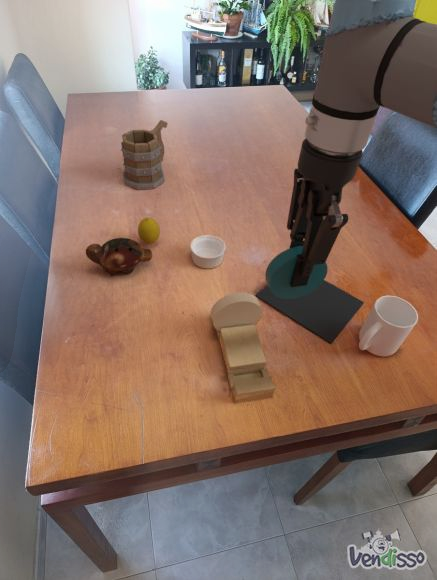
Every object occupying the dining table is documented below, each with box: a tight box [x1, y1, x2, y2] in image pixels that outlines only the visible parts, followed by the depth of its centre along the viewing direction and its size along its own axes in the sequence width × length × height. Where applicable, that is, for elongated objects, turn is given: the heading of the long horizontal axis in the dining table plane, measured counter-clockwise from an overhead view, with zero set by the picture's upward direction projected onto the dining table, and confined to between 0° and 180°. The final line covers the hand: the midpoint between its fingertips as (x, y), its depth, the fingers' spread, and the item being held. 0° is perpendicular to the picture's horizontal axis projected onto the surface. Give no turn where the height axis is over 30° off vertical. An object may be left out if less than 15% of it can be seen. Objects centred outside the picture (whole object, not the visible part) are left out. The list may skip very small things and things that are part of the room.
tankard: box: [120, 119, 168, 191], centre depth 117 cm, size 20×13×15 cm, turn 148°
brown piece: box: [85, 237, 153, 277], centre depth 89 cm, size 10×15×8 cm, turn 111°
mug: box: [358, 295, 419, 357], centre depth 76 cm, size 12×8×10 cm
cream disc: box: [210, 292, 263, 331], centre depth 74 cm, size 2×10×10 cm, turn 101°
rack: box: [215, 324, 276, 405], centre depth 74 cm, size 20×7×5 cm, turn 11°
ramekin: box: [189, 234, 227, 269], centre depth 94 cm, size 9×9×4 cm
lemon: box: [137, 217, 161, 245], centre depth 96 cm, size 6×6×8 cm
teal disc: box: [264, 246, 328, 299], centre depth 62 cm, size 2×10×10 cm, turn 103°
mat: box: [255, 279, 365, 345], centre depth 88 cm, size 20×16×1 cm
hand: (294, 278), depth 63 cm, fingers closed on teal disc, 2 cm apart
